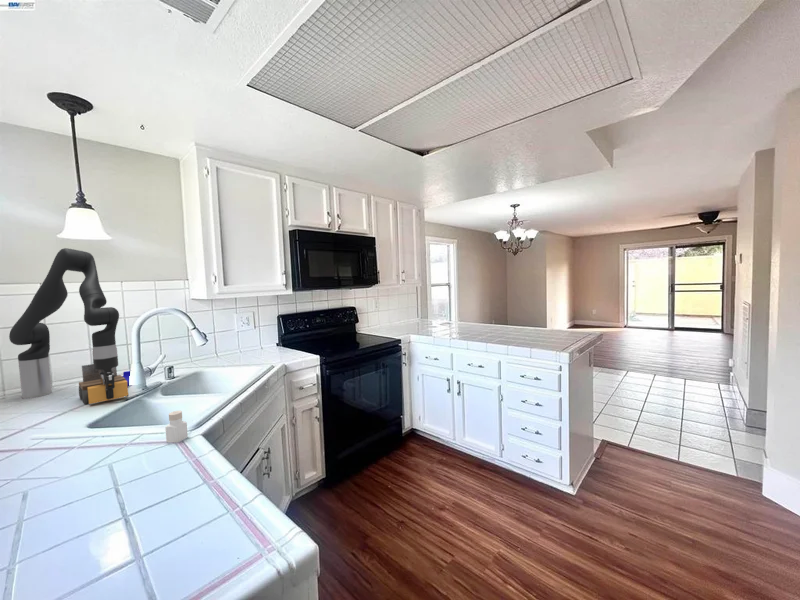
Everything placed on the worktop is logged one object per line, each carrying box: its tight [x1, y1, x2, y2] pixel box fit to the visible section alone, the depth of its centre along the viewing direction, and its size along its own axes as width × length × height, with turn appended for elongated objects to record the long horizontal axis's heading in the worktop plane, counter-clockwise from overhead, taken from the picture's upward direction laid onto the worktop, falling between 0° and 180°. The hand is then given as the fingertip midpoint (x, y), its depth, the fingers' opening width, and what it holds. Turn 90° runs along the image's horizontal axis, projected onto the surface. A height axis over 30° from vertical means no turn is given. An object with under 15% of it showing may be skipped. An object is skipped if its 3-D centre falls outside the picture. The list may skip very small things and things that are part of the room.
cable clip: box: [121, 370, 131, 386], centre depth 158 cm, size 12×4×6 cm, turn 24°
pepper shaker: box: [165, 410, 189, 444], centre depth 95 cm, size 4×4×10 cm
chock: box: [88, 380, 129, 405], centre depth 134 cm, size 4×12×6 cm, turn 134°
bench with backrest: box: [78, 363, 126, 405], centre depth 141 cm, size 16×14×14 cm
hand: (108, 397), depth 134 cm, fingers closed on chock, 4 cm apart
